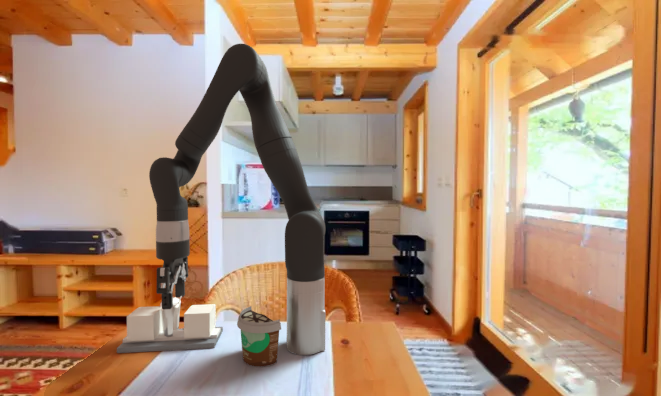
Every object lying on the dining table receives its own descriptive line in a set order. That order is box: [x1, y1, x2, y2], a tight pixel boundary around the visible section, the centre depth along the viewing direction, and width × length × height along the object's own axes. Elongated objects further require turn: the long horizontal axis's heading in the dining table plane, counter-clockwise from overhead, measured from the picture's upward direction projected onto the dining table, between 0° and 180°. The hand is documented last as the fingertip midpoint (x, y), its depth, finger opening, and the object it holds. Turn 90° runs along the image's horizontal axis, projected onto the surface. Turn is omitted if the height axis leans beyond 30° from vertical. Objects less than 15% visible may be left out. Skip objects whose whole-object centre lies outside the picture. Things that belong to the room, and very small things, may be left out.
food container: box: [236, 305, 282, 368], centre depth 70 cm, size 12×6×10 cm, turn 47°
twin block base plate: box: [116, 303, 224, 354], centre depth 78 cm, size 22×9×8 cm, turn 97°
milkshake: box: [159, 296, 183, 337], centre depth 77 cm, size 4×5×10 cm
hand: (174, 302), depth 78 cm, fingers open, 8 cm apart
